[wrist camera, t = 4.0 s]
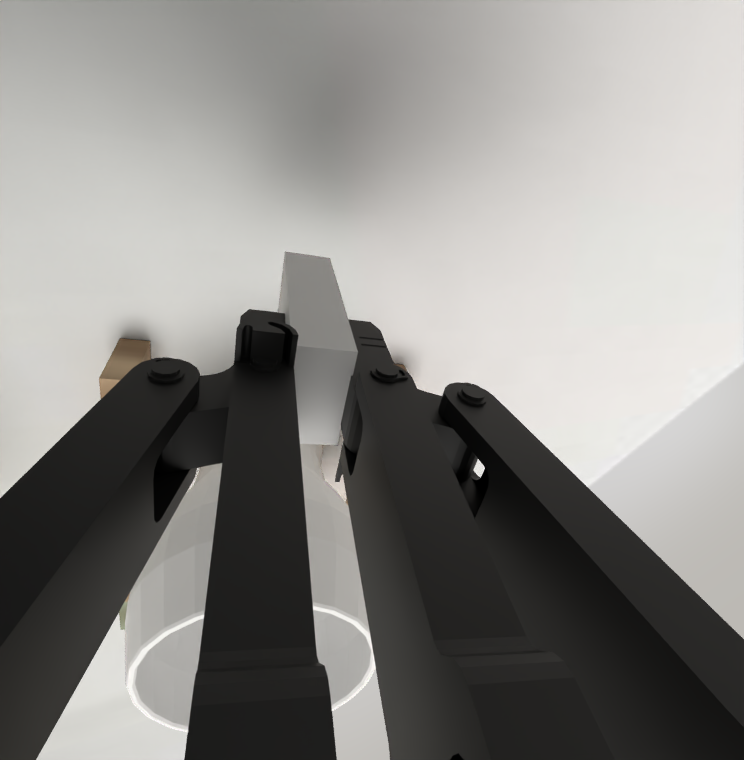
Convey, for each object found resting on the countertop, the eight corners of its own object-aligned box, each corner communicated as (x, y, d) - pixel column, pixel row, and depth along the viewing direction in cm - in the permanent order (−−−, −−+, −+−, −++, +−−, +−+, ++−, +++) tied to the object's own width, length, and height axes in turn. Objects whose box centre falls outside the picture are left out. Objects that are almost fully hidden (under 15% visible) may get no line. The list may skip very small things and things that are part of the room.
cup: (149, 377, 28) (57, 629, 16) (335, 349, 29) (385, 565, 17) (199, 506, 34) (159, 764, 22) (352, 479, 35) (398, 710, 23)
